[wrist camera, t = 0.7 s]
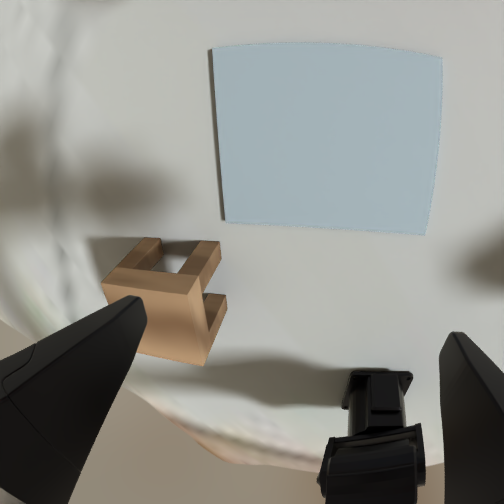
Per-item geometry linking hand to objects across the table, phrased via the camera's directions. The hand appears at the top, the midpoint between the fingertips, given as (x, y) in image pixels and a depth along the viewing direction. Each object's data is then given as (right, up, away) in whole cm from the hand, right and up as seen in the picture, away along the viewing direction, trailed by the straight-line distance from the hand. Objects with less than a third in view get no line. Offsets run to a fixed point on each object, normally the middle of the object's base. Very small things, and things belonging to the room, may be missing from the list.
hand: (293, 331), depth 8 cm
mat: (+4, +9, +10) cm, 14 cm away
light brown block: (-7, 0, +18) cm, 19 cm away
